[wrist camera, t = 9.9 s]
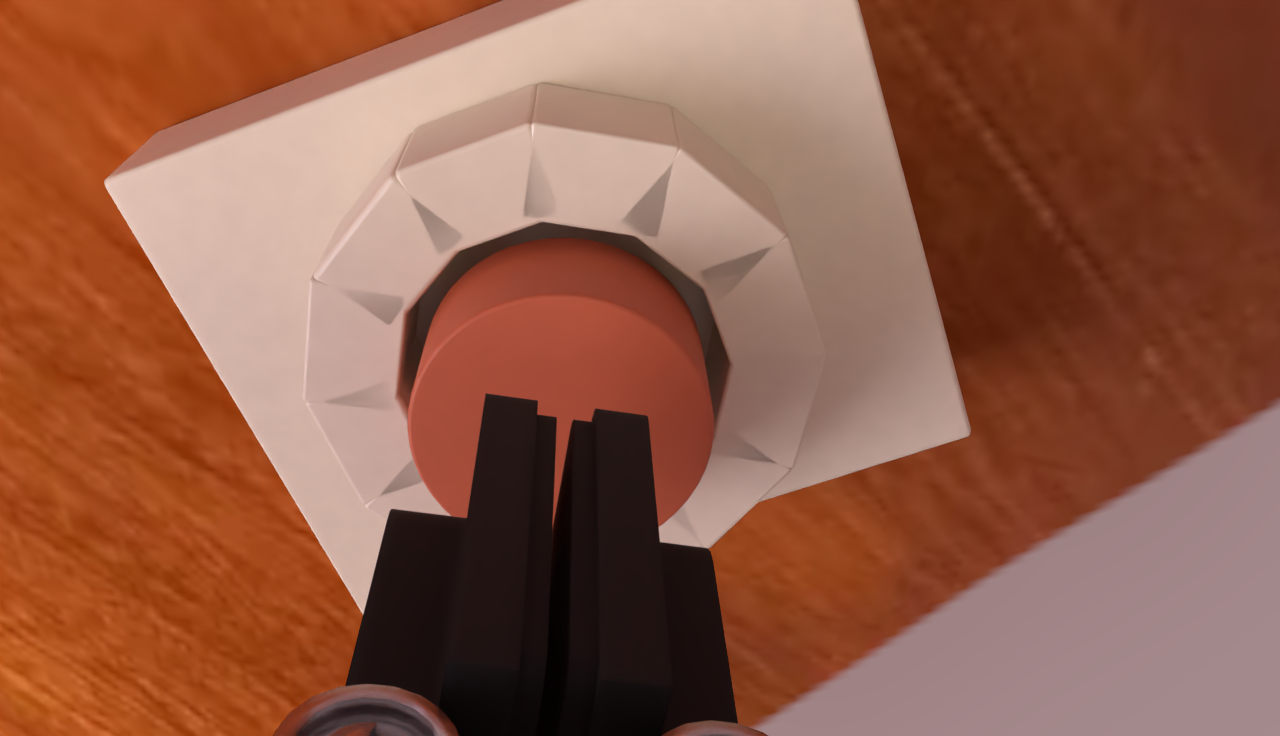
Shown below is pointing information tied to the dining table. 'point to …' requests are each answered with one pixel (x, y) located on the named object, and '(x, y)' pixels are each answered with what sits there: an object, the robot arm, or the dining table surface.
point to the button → (562, 362)
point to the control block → (559, 208)
